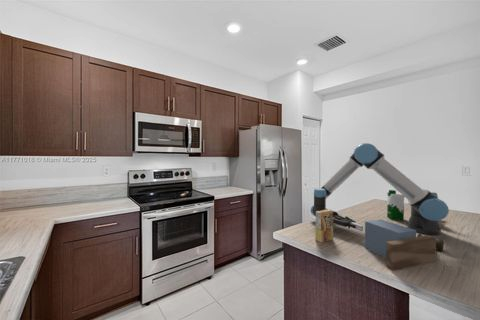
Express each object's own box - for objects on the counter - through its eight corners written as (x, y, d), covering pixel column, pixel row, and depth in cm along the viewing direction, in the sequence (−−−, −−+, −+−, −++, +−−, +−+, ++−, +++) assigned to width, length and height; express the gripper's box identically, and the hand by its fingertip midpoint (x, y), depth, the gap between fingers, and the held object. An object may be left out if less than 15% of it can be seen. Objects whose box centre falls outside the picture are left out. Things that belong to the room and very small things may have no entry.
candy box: (327, 237, 114) (327, 209, 114) (333, 239, 111) (333, 211, 110) (315, 240, 111) (315, 211, 110) (321, 243, 107) (321, 213, 106)
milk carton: (385, 216, 152) (385, 189, 152) (399, 217, 150) (399, 189, 150) (391, 220, 144) (391, 191, 143) (406, 221, 142) (406, 191, 141)
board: (386, 266, 84) (386, 241, 84) (427, 257, 91) (427, 235, 91) (393, 270, 81) (393, 244, 81) (435, 261, 88) (435, 237, 88)
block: (364, 247, 101) (365, 221, 101) (380, 245, 104) (380, 219, 104) (398, 264, 86) (398, 232, 86) (415, 260, 89) (416, 230, 89)
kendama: (411, 254, 95) (418, 241, 109) (440, 263, 88) (444, 247, 102) (411, 241, 95) (419, 229, 108) (441, 249, 88) (445, 235, 101)
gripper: (338, 221, 133) (371, 234, 111) (321, 223, 129) (352, 237, 107) (338, 209, 133) (371, 220, 110) (321, 211, 129) (352, 222, 107)
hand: (361, 228), depth 109 cm, fingers closed
